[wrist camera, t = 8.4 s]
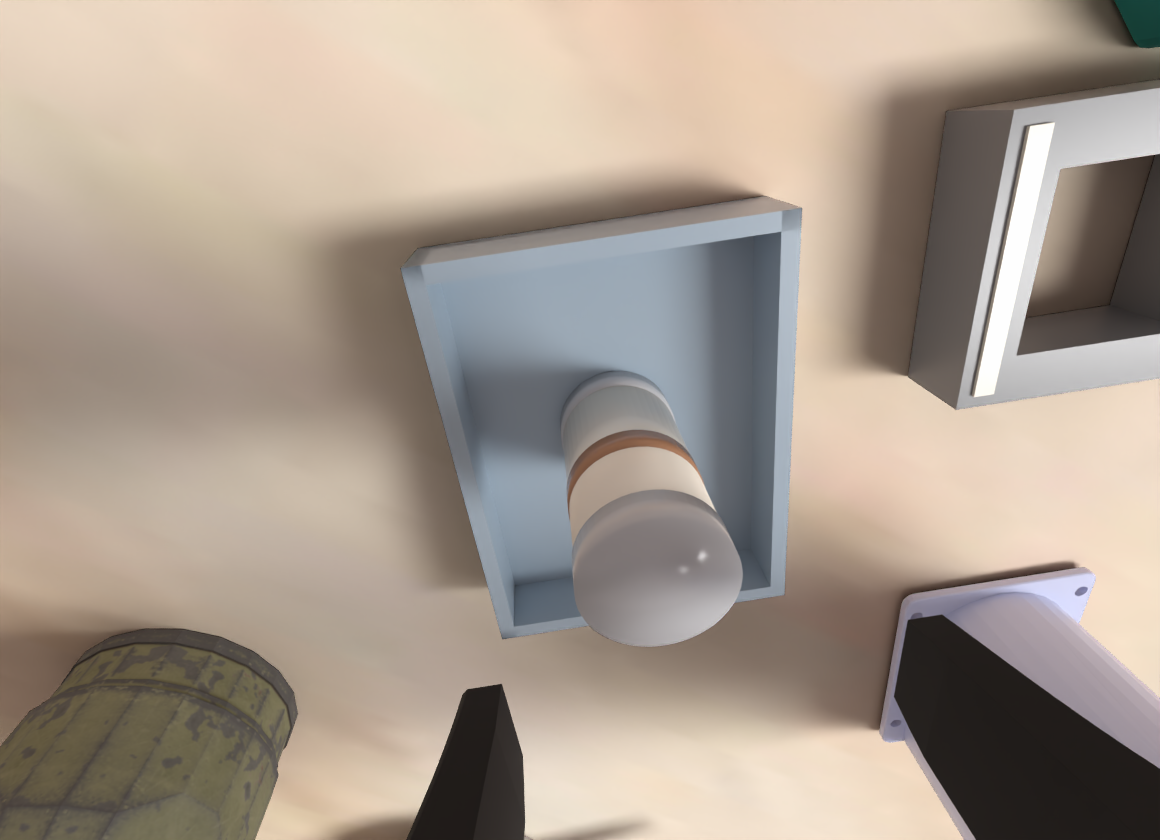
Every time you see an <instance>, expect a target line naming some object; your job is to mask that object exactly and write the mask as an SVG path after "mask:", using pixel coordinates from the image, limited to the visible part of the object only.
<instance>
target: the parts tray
mask: <svg viewBox="0 0 1160 840" xmlns="http://www.w3.org/2000/svg"><path fill="white" fill-rule="evenodd" d="M801 220H802V208H801V207H798V206H795V205H792V204H789V203H786V202H783V201H780V200H777V199H773V198H770V197H767V196H761V197H755V198H748V199H742V200H735V201H728V202H722V203H715V204H708V205H702V206H695V207H688V208H682V209H675V210H668V211H662V212H655V213H648V214H642V215H635V216H629V217H622V218H615V219H609V220H602V221H595V222H589V223H582V224H575V225H569V226H562V227H555V228H549V229H542V230H535V231H529V232H522V233H516V234H509V235H502V236H496V237H489V238H482V239H476V240H469V241H462V242H456V243H449V244H442V245H436V246H429V247H423V248H417V250H416V251H415V252H414V253H413V254H412V255H411V257H410V258H409V259H408V260H407V261H406V262H405V264H404V265H403V266H402V267H401V268H400V269H401V272H402V276H403V280H404V283H405V287H406V290H407V294H408V298H409V301H410V305H411V309H412V312H413V316H414V320H415V323H416V327H417V330H418V334H419V338H420V341H421V345H422V349H423V352H424V356H425V360H426V363H427V367H428V370H429V374H430V378H431V381H432V385H433V389H434V392H435V396H436V400H437V403H438V407H439V410H440V414H441V418H442V421H443V425H444V429H445V432H446V436H447V440H448V443H449V447H450V450H451V454H452V458H453V461H454V465H455V469H456V472H457V476H458V480H459V483H460V487H461V491H462V494H463V498H464V501H465V505H466V509H467V512H468V516H469V520H470V523H471V527H472V531H473V534H474V538H475V541H476V545H477V549H478V552H479V556H480V560H481V563H482V567H483V571H484V574H485V578H486V581H487V585H488V589H489V592H490V596H491V600H492V603H493V607H494V611H495V614H496V618H497V621H498V625H499V629H500V632H501V636H502V639H507V638H514V637H520V636H526V635H533V634H539V633H545V632H552V631H558V630H565V629H571V628H577V627H584V626H589V625H588V624H587V623H586V621H585V620H584V619H583V618H582V616H581V614H580V612H579V610H578V608H577V605H576V602H575V596H574V585H573V573H572V561H571V560H572V549H573V547H572V536H571V525H570V519H569V514H568V504H567V479H566V468H565V457H564V451H563V448H562V441H561V429H560V418H561V412H562V409H563V406H564V404H565V402H566V400H567V398H568V397H569V395H570V394H571V393H572V391H573V390H574V389H575V388H576V387H577V386H578V385H580V384H581V383H582V382H584V381H585V380H587V379H589V378H591V377H593V376H595V375H598V374H600V373H604V372H610V371H627V372H633V373H636V374H639V375H642V376H644V377H646V378H647V379H649V380H651V381H652V382H653V383H655V384H656V385H657V386H658V387H659V388H660V390H661V391H662V393H663V394H664V396H665V398H666V400H667V402H668V404H669V406H670V408H671V410H672V412H673V415H674V418H675V421H676V425H677V427H678V430H679V432H680V434H681V436H682V438H683V440H684V443H685V445H686V447H687V449H688V451H689V453H690V455H691V456H692V458H693V460H694V462H695V464H696V466H697V468H698V470H699V472H700V475H701V477H702V479H703V482H704V485H705V488H706V491H707V493H708V495H709V497H710V499H711V501H712V504H713V506H714V508H715V510H716V512H717V514H718V515H719V516H720V517H721V519H722V521H723V523H724V525H725V527H726V529H727V531H728V533H729V535H730V537H731V539H732V542H733V544H734V546H735V548H736V550H737V552H738V555H739V557H740V560H741V563H742V570H743V578H742V585H741V589H740V592H739V594H738V597H737V599H736V601H735V602H734V603H737V602H743V601H750V600H756V599H762V598H769V597H775V596H782V595H784V592H785V570H786V549H787V527H788V505H789V483H790V461H791V439H792V417H793V395H794V374H795V352H796V330H797V308H798V286H799V264H800V242H801Z"/></svg>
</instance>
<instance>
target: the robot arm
mask: <svg viewBox="0 0 1160 840" xmlns="http://www.w3.org/2000/svg"><path fill="white" fill-rule="evenodd" d="M1095 578H1096V576H1095V574H1094V573H1093V572H1091V571H1090V570H1089V569H1087V568H1085V567H1082V568H1074V569H1067V570H1061V571H1054V572H1048V573H1042V574H1035V575H1029V576H1023V577H1016V578H1010V579H1004V580H997V581H991V582H984V583H978V584H972V585H965V586H959V587H953V588H946V589H940V590H933V591H927V592H921V593H914V594H911V595H909V596H907V597H906V598H905V599H904V600H903V602H902V604H901V610H900V616H899V622H898V627H897V633H896V639H895V644H894V650H893V656H892V662H891V667H890V673H889V679H888V684H887V690H886V696H885V702H884V707H883V713H882V719H881V724H880V730H879V733H880V735H881V737H882V739H883V740H884V741H886V742H897V741H905V743H906V744H907V746H908V748H909V749H910V751H911V753H912V754H913V756H914V758H915V759H916V761H917V763H918V764H919V766H920V768H921V769H922V771H923V773H924V774H925V776H926V777H927V779H928V781H929V782H930V784H931V786H932V787H933V789H934V791H935V792H936V794H937V796H938V797H939V799H940V801H941V802H942V804H943V806H944V807H945V809H946V811H947V812H948V814H949V816H950V817H951V819H952V821H953V822H954V824H955V826H956V827H957V829H958V831H959V832H960V834H961V836H962V837H963V839H964V840H1160V698H1159V697H1158V696H1157V695H1156V694H1155V693H1154V692H1153V691H1152V690H1150V689H1149V688H1148V687H1147V686H1146V685H1145V684H1144V683H1143V682H1142V681H1141V680H1140V679H1138V678H1137V677H1136V676H1135V675H1134V674H1133V673H1132V672H1131V671H1130V670H1129V669H1128V668H1127V667H1125V666H1124V665H1123V664H1122V663H1121V662H1120V661H1119V660H1118V659H1117V658H1116V657H1115V656H1113V655H1112V654H1111V653H1110V652H1109V651H1108V650H1107V649H1106V648H1105V647H1104V646H1103V645H1101V644H1100V643H1099V642H1098V641H1097V640H1096V639H1095V638H1094V637H1093V636H1092V635H1091V634H1089V633H1088V632H1087V631H1086V630H1085V629H1084V628H1083V627H1082V626H1081V625H1080V624H1079V622H1080V620H1081V617H1082V614H1083V612H1084V609H1085V606H1086V604H1087V601H1088V598H1089V596H1090V593H1091V590H1092V588H1093V585H1094V583H1095ZM524 830H525V805H524V775H523V755H522V751H521V748H520V744H519V741H518V738H517V734H516V731H515V727H514V724H513V721H512V717H511V714H510V710H509V707H508V704H507V700H506V697H505V693H504V690H503V687H502V684H498V685H492V686H486V687H479V688H473V689H467V690H466V691H465V693H464V694H463V695H462V698H461V701H460V704H459V707H458V710H457V713H456V716H455V719H454V722H453V725H452V728H451V731H450V734H449V736H448V739H447V742H446V745H445V747H444V750H443V753H442V755H441V758H440V760H439V763H438V766H437V768H436V771H435V773H434V776H433V778H432V781H431V783H430V785H429V788H428V790H427V793H426V795H425V797H424V800H423V802H422V804H421V807H420V809H419V812H418V814H417V816H416V819H415V821H414V823H413V826H412V828H411V830H410V833H409V835H408V837H407V839H406V840H524Z"/></svg>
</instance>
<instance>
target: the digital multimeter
mask: <svg viewBox="0 0 1160 840" xmlns="http://www.w3.org/2000/svg"><path fill="white" fill-rule="evenodd" d="M1114 1H1115V3H1116V5H1117V7H1118V9H1119V11H1120V13H1121V15H1122V17H1123V19H1124V21H1125V23H1126V25H1127V28H1128V30H1129V32H1130V34H1131V36H1132V38H1133V40H1134V41H1135V43H1136V44H1137V45H1138V46H1139V47H1140V48H1155V47H1160V0H1114Z"/></svg>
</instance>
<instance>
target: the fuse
mask: <svg viewBox="0 0 1160 840" xmlns="http://www.w3.org/2000/svg"><path fill="white" fill-rule="evenodd" d="M560 429H561V441H562V448H563V451H564V457H565V468H566V479H567V504H568V514H569V519H570V525H571V536H572V547H573V549H572V560H571V561H572V573H573V585H574V596H575V602H576V605H577V608H578V610H579V612H580V614H581V616H582V618H583V619H584V620H585V621H586V623H587V624H588V625H589V626H590V627H591V628H592V629H594V630H595V631H596V632H598V633H599V634H601V635H602V636H604V637H606V638H608V639H610V640H613V641H616V642H619V643H622V644H626V645H632V646H642V647H654V646H664V645H670V644H674V643H678V642H681V641H684V640H687V639H690V638H692V637H694V636H697V635H699V634H700V633H702V632H704V631H706V630H707V629H709V628H710V627H712V626H713V625H715V624H716V623H717V622H718V621H719V620H721V619H722V618H723V616H724V615H725V614H726V613H727V612H728V611H729V610H730V608H731V607H732V606H733V604H734V602H735V601H736V599H737V597H738V594H739V592H740V589H741V585H742V578H743V570H742V563H741V560H740V557H739V555H738V552H737V550H736V548H735V546H734V544H733V542H732V539H731V537H730V535H729V533H728V531H727V529H726V527H725V525H724V523H723V521H722V519H721V517H720V516H719V515H718V514H717V512H716V510H715V508H714V506H713V504H712V501H711V499H710V497H709V495H708V493H707V491H706V488H705V485H704V482H703V479H702V477H701V475H700V472H699V470H698V468H697V466H696V464H695V462H694V460H693V458H692V456H691V455H690V453H689V451H688V449H687V447H686V445H685V443H684V440H683V438H682V436H681V434H680V432H679V430H678V427H677V425H676V421H675V418H674V415H673V412H672V410H671V408H670V406H669V404H668V402H667V400H666V398H665V396H664V394H663V393H662V391H661V390H660V388H659V387H658V386H657V385H656V384H655V383H653V382H652V381H651V380H649V379H647V378H646V377H644V376H642V375H639V374H636V373H633V372H627V371H610V372H604V373H600V374H598V375H595V376H593V377H591V378H589V379H587V380H585V381H584V382H582V383H581V384H580V385H578V386H577V387H576V388H575V389H574V390H573V391H572V393H571V394H570V395H569V397H568V398H567V400H566V402H565V404H564V406H563V409H562V412H561V418H560Z"/></svg>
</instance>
